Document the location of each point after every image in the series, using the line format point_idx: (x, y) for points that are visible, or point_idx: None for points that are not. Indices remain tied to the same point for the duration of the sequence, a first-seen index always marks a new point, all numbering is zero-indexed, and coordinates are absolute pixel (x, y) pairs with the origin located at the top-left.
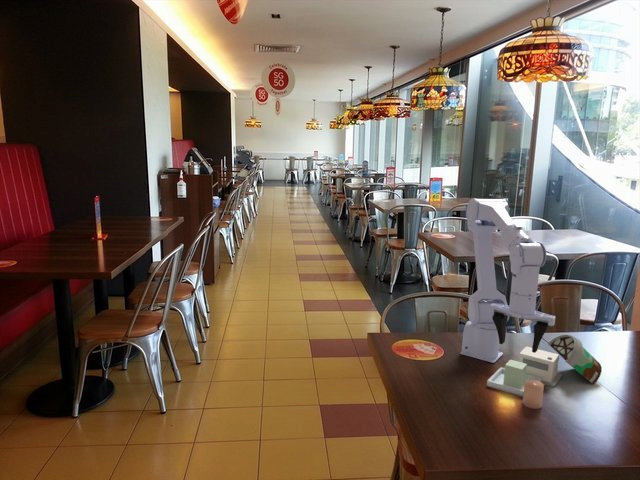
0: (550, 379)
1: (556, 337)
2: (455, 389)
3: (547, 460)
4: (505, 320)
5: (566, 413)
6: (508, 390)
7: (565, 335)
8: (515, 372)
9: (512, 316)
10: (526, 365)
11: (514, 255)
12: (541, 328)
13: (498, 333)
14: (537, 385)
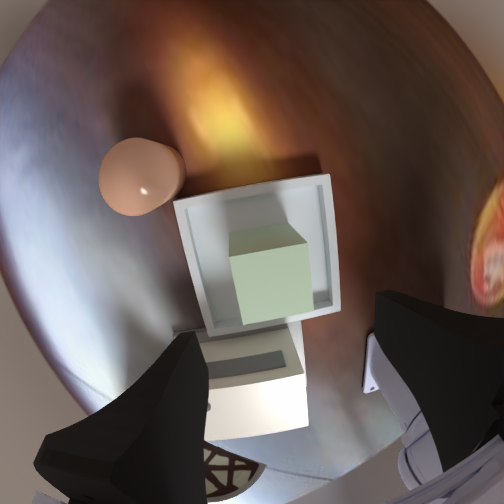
0: None
1: (247, 488)
2: (370, 81)
3: (56, 2)
4: (452, 420)
5: (76, 208)
6: (249, 185)
7: (219, 499)
8: (256, 245)
9: (436, 478)
10: (241, 315)
11: None
12: (43, 451)
13: (436, 307)
14: (117, 173)
